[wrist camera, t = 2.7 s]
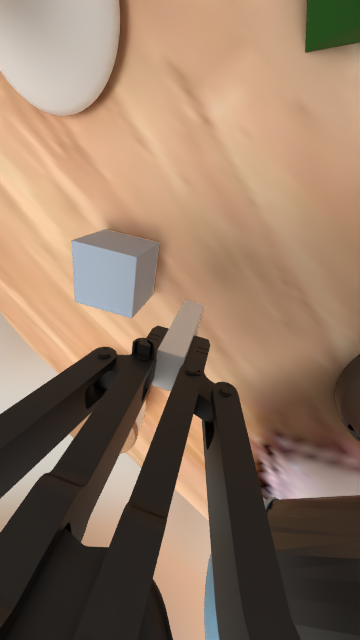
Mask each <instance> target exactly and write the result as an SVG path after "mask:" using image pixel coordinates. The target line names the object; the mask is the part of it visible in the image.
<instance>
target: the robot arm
mask: <svg viewBox="0 0 360 640" xmlns="http://www.w3.org/2000/svg"><path fill="white" fill-rule="evenodd" d="M203 308H204V304H201V303H197V302H194V301H190V300H186V299H185V301H184V303H183V304H182V306H181V308H180V310H179V312H178V313H177V315H176V317H175V319H174V321H173V323H172V324H171V326H170V328H169V329H168V328H164V327H161V326H156V327H155V328H153V329H152V330H151V332H150V333H149V335H148V336H147V338H138V339H136V340H134V341H133V346H132V354H131V355H117V353H116V351H115V350H114V349H113V348H110V347H100V348H97V349H95V350H94V351H92V352H91V353H89V354H88V355H86V356H85V357H84V358H82V359H81V360H79V361H78V362H76V363H75V364H73V365H72V366H70V367H69V368H67V369H66V370H64V371H63V372H62V373H60V374H59V375H57V376H56V377H54V378H53V379H51V380H50V381H48V382H47V383H46V384H44V385H42V386H41V387H40V388H38V389H37V390H35V391H34V392H32V393H31V394H29V395H28V396H26V397H25V398H24V399H22V400H20V401H19V402H18V403H16V404H15V405H13V406H12V407H10V408H9V409H7V410H6V411H4V412H3V413H1V414H0V498H1V497H2V496H4V495H5V494H6V493H7V492H8V491H9V490H10V489H11V488H12V487H13V486H14V485H15V484H16V483H17V482H18V481H19V480H20V479H22V478H23V477H24V476H25V475H26V474H27V473H28V472H29V471H30V470H31V469H32V468H33V467H34V466H35V465H36V464H38V463H39V462H40V461H41V459H43V458H44V457H45V456H46V455H47V454H48V453H49V452H50V451H51V450H52V449H53V448H55V447H56V446H57V445H58V444H59V443H60V442H61V441H62V440H63V439H64V438H65V437H66V436H67V435H68V434H69V433H70V432H71V431H73V430H74V429H75V428H76V427H77V426H78V425H79V424H80V423H81V422H82V421H83V420H84V419H85V418H86V417H87V416H88V415H90V416H89V417H88V419H87V420H86V422H85V423H84V425H83V426H82V427H81V429H80V430H79V432H78V433H77V435H76V436H75V438H74V439H73V441H72V442H71V444H70V445H69V447H68V448H67V450H66V451H65V453H64V454H63V455H62V457H61V458H60V460H59V461H58V463H57V464H56V466H55V467H54V469H53V470H52V471H51V472H49V473H46V474H44V475H43V476H41V477H40V478H39V480H38V481H37V482H36V483H35V485H34V486H33V487H32V489H31V490H30V492H29V493H28V495H27V496H26V497H25V499H24V500H23V502H22V503H21V504H20V506H19V507H18V509H17V510H16V512H15V513H14V514H13V516H12V517H11V519H10V520H9V521H8V523H7V525H6V526H5V527H4V528H3V530H2V531H1V532H0V640H173V638H172V634H171V630H170V625H169V620H168V616H167V612H166V608H165V604H164V601H163V598H162V595H161V593H160V591H159V589H158V587H157V585H156V583H155V582H154V580H153V575H154V571H155V567H156V563H157V558H158V555H159V551H160V547H161V542H162V539H163V535H164V531H165V527H166V522H167V517H168V512H169V508H170V504H171V500H172V496H173V492H174V488H175V485H176V481H177V477H178V473H179V469H180V465H181V461H182V457H183V453H184V449H185V445H186V441H187V437H188V433H189V429H190V425H191V421H192V417H193V414H195V415H196V416H198V417H199V418H201V419H202V428H203V442H204V456H205V470H206V484H207V498H208V512H209V526H210V538H211V555H210V559H209V563H208V569H207V576H206V585H205V601H204V623H205V640H360V495H356V496H338V497H319V498H301V499H282V500H279V499H277V498H276V497H271V498H269V499H267V500H266V501H263V497H262V492H261V488H260V484H259V480H258V476H257V471H256V467H255V463H254V459H253V454H252V450H251V446H250V442H249V438H248V433H247V429H246V425H245V421H244V417H243V412H242V408H241V404H240V400H239V396H238V392H237V390H236V389H235V387H234V386H232V385H231V384H229V383H226V382H218V383H216V384H215V383H213V382H212V381H210V380H209V379H208V378H207V377H206V376H205V373H204V368H205V364H206V360H207V356H208V352H209V348H210V343H209V340H208V339H204V338H201V337H197V336H196V335H197V332H198V328H199V324H200V320H201V316H202V312H203ZM152 381H153V383H152ZM151 383H152V385H153V386H156V387H159V388H162V389H166V390H169V391H171V393H170V395H169V398H168V401H167V403H166V406H165V408H164V411H163V414H162V416H161V419H160V421H159V424H158V427H157V429H156V432H155V434H154V437H153V440H152V442H151V445H150V448H149V450H148V453H147V455H146V458H145V461H144V463H143V466H142V468H141V471H140V474H139V476H138V479H137V482H136V484H135V487H134V489H133V492H132V495H131V497H130V500H129V502H128V503H127V504H126V506H125V508H124V510H123V513H122V515H121V518H120V520H119V523H118V525H117V528H116V530H115V533H114V536H113V538H112V541H111V543H110V546H109V547H88V546H84V545H83V544H82V543H81V541H82V538H83V536H84V533H85V530H86V527H87V523H88V520H89V518H90V515H91V513H92V511H93V509H94V507H95V505H96V503H97V500H98V498H99V496H100V494H101V492H102V490H103V488H104V486H105V484H106V481H107V479H108V477H109V475H110V473H111V471H112V469H113V467H114V465H115V463H116V460H117V458H118V456H119V454H120V452H121V450H122V448H123V446H124V444H125V442H126V439H127V437H128V435H129V433H130V431H131V429H132V427H133V425H134V423H135V421H136V418H137V416H138V414H139V412H140V410H141V408H142V406H143V404H144V402H145V400H146V397H147V395H148V393H149V390H150V385H151ZM335 401H336V405H337V408H338V410H339V413H340V416H341V418H342V421H343V422H344V424H345V426H346V428H347V429H348V430H349V432H350V433H351V434H352V435H353V436H354V437H355V438H356V439H357V440H358V441H359V442H360V356H358V357H357V358H356V359H355V360H353V361H352V362H351V363H350V364H349V365H348V366H347V367H346V368H345V370H344V371H343V372H342V374H341V376H340V377H339V379H338V382H337V384H336V388H335Z"/></svg>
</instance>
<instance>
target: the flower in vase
mask: <svg viewBox="0 0 360 640" xmlns="http://www.w3.org/2000/svg"><path fill="white" fill-rule="evenodd" d="M119 33H120V6H119V0H0V71H1V72H2V74H3V75H4V77H5V78H6V79H7V81H8V82H9V83H10V84H11V85H12V86H13V88H14V89H15V90H16V91H17V92H18V93H19V94H20V95H21V96H22V97H23V98H24V99H26V100H27V101H28V102H29V103H30V104H32V105H33V106H34V107H36V108H37V109H39V110H41V111H43V112H45V113H48V114H52V115H57V116H69V115H73V114H77V113H79V112H81V111H83V110H84V109H86V108H87V107H89V106H90V105H91V104H92V103H93V102H94V101H95V100H96V99H97V98H98V96H99V95H100V94H101V92H102V91H103V89H104V87H105V86H106V84H107V82H108V80H109V77H110V75H111V72H112V70H113V66H114V63H115V59H116V55H117V49H118V44H119Z"/></svg>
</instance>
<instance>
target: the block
mask: <svg viewBox="0 0 360 640" xmlns="http://www.w3.org/2000/svg"><path fill="white" fill-rule="evenodd" d="M159 245H160V242H157V241H153V240H149V239H145V238H141V237H137V236H133V235H128V234H124V233H120V232H116V231H112V230H108V229H105V230H102V231H99V232H96V233H93V234H90V235H87V236H84V237H81V238H78V239H75V240H72V256H73V274H74V292H75V302H77V303H81V304H84V305H88V306H91V307H94V308H98V309H101V310H105V311H108V312H112V313H115V314H118V315H122V316H125V317H129V318H133V316H134V315H135V314H136V313H137V312H138V311H139V310H140V309H141V307H142V306H143V305H144V304H145V303H146V302H147V301H148V300H149V298H150V297H151V296H152V295H153V292H154V285H155V277H156V269H157V261H158V253H159Z"/></svg>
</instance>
